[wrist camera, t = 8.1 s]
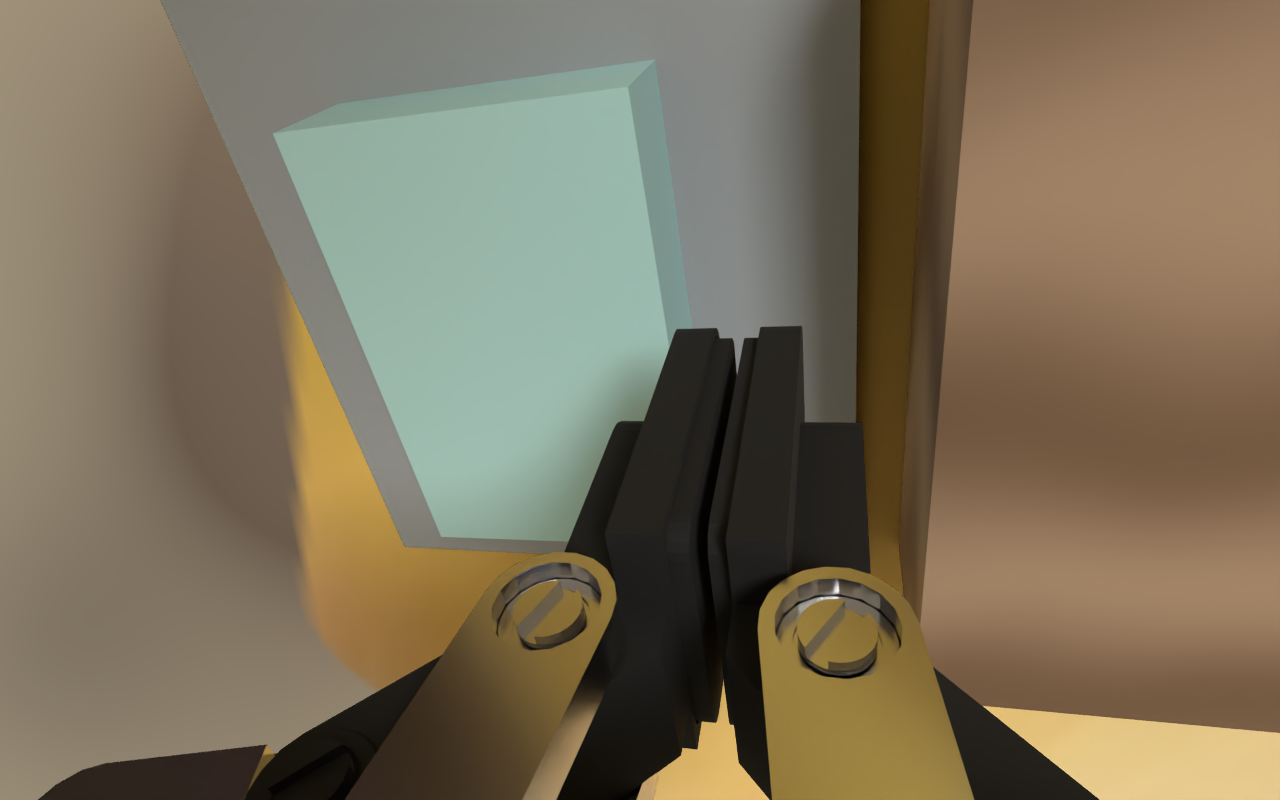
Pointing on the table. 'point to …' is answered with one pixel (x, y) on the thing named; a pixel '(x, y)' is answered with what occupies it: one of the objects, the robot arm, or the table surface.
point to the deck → (1099, 359)
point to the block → (503, 278)
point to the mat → (554, 43)
